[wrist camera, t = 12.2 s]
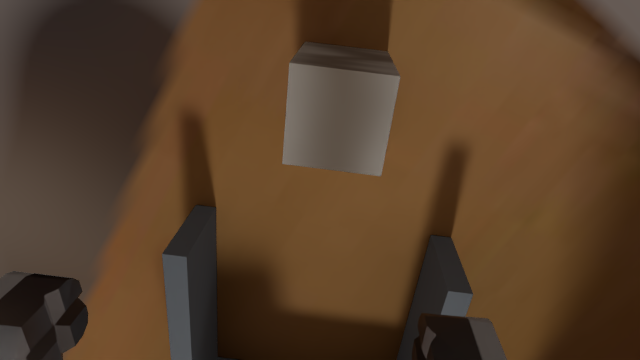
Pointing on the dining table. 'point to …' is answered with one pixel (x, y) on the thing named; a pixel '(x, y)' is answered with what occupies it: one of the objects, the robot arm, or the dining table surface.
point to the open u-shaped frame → (201, 288)
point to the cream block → (339, 108)
